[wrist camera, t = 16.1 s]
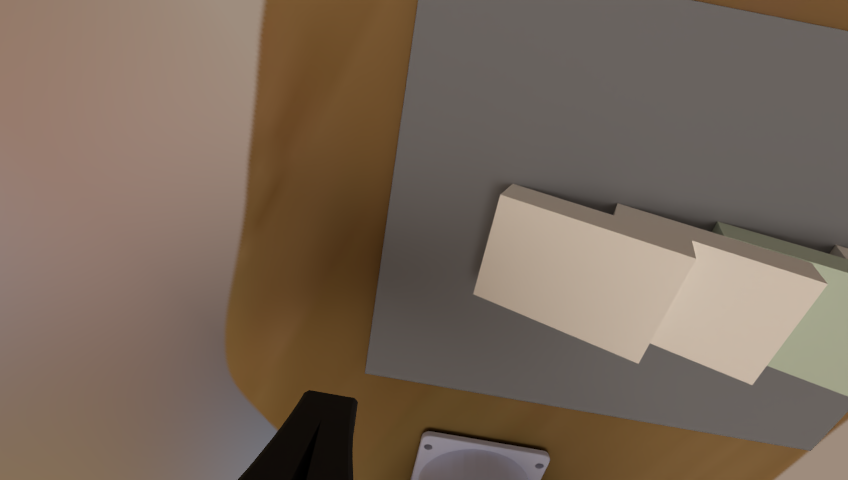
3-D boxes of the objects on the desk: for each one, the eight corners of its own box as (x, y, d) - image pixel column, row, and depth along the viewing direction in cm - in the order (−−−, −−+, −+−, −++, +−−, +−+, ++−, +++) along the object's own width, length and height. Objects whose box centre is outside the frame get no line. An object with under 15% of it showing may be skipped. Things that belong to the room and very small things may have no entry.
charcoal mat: (805, 444, 24) (810, 450, 24) (366, 368, 24) (365, 373, 23) (1131, 88, 15) (1147, 90, 15) (426, -51, 15) (425, -53, 14)
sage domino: (717, 221, 18) (923, 281, 16) (668, 309, 20) (843, 373, 18) (724, 235, 16) (952, 304, 14) (670, 329, 19) (861, 401, 16)
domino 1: (512, 183, 18) (691, 240, 15) (486, 277, 20) (639, 338, 18) (500, 194, 16) (696, 258, 14) (473, 294, 18) (638, 363, 16)
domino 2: (617, 203, 18) (811, 263, 16) (579, 293, 20) (744, 358, 18) (614, 215, 16) (828, 283, 14) (573, 312, 19) (752, 385, 16)
